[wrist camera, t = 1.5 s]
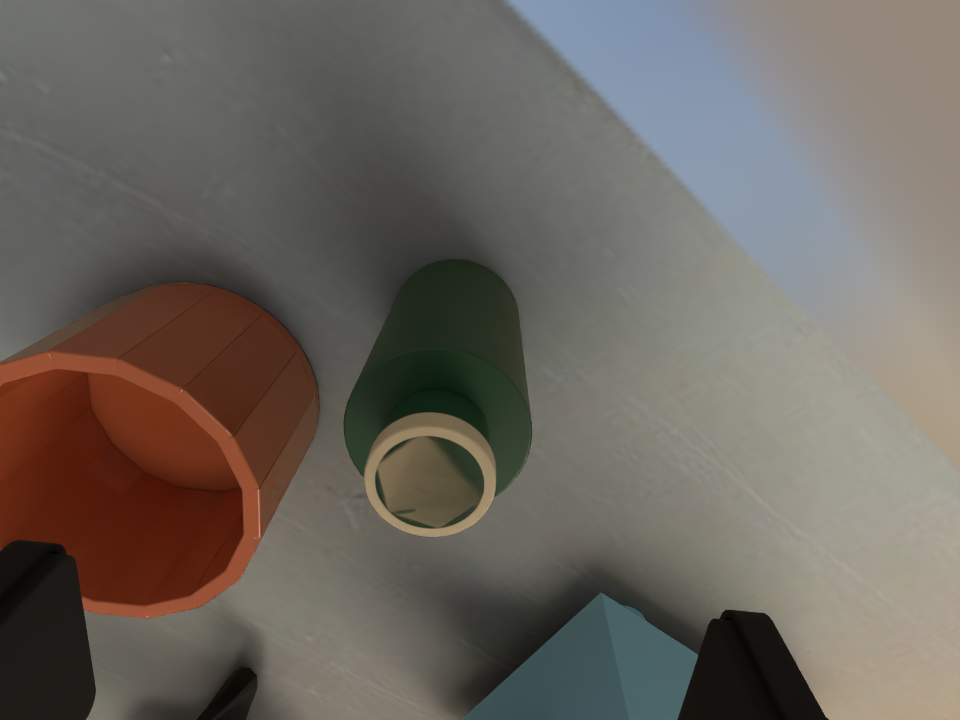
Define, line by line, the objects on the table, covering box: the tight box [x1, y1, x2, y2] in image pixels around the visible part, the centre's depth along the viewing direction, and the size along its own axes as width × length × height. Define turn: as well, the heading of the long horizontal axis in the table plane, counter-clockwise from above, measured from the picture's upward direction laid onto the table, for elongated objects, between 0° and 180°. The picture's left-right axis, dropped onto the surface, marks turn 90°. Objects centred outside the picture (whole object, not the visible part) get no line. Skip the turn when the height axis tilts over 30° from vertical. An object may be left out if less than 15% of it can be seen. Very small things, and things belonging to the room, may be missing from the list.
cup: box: [0, 282, 319, 618], centre depth 20 cm, size 9×9×6 cm
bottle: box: [344, 259, 532, 537], centre depth 17 cm, size 4×4×10 cm
